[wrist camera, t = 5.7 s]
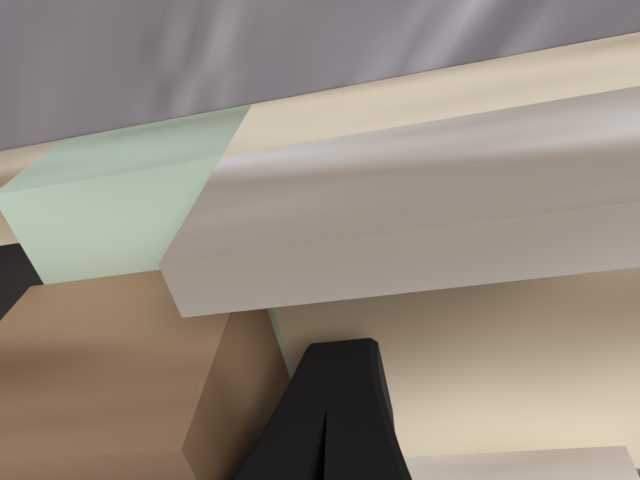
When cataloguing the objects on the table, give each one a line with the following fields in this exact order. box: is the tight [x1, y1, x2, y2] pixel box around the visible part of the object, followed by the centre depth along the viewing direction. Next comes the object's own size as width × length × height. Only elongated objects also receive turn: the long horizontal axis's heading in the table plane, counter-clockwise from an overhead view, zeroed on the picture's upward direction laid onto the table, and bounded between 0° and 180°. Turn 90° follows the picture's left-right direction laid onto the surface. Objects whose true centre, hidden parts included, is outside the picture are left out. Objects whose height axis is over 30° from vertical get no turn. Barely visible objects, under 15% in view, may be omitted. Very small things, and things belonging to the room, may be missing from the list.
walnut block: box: [0, 270, 291, 480], centre depth 10 cm, size 4×4×4 cm
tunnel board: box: [0, 32, 640, 480], centre depth 11 cm, size 9×25×6 cm, turn 102°
